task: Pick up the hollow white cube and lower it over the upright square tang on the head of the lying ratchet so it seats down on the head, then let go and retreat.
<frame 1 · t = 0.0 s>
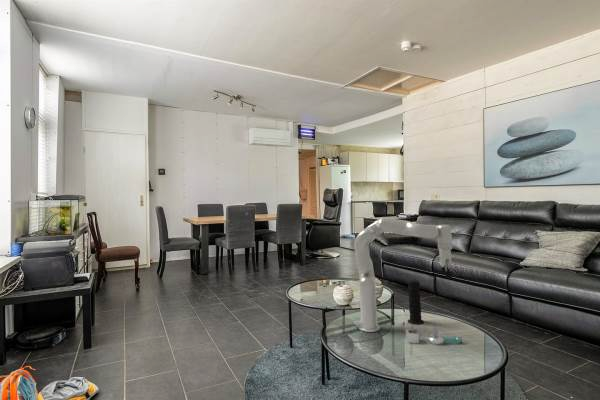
hand: (446, 276, 187), 31 cm above the table, fingers open, 9 cm apart
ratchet: (436, 341, 173), on the table
handle grip: (415, 322, 204), on the table
hollow white cube: (412, 340, 176), on the table
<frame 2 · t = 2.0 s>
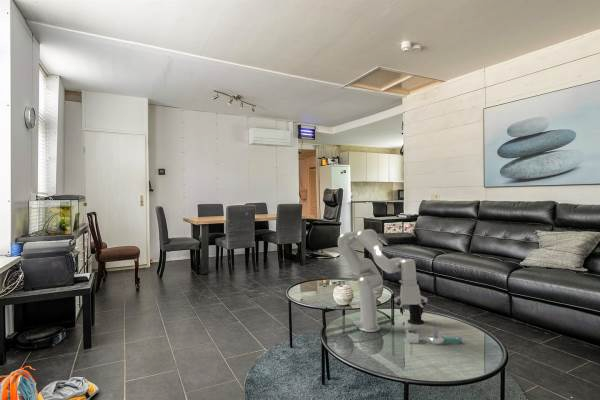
hand: (411, 314, 176), 14 cm above the table, fingers open, 9 cm apart
nothing on the table moved.
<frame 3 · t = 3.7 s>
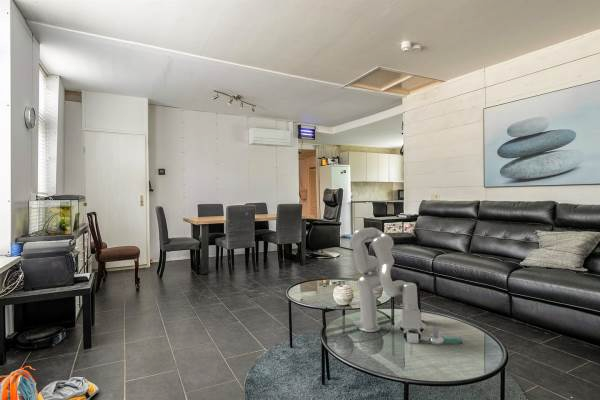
hand: (412, 339, 176), 1 cm above the table, fingers closed on hollow white cube, 5 cm apart
hollow white cube: (412, 340, 176), on the table, touching gripper
everything else where it was.
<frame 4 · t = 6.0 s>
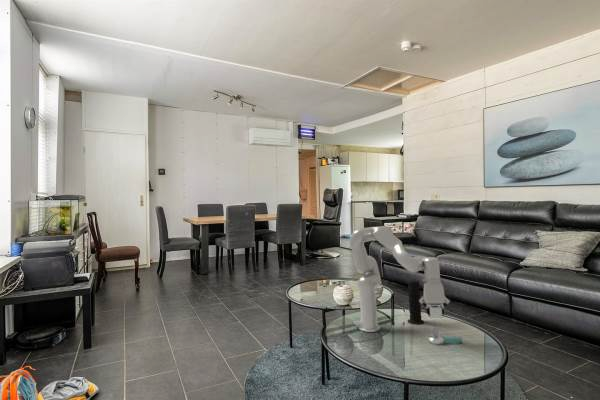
hand: (435, 315, 173), 14 cm above the table, fingers closed on hollow white cube, 5 cm apart
hollow white cube: (435, 316, 173), point 14 cm above the table, touching gripper
everything else where it was.
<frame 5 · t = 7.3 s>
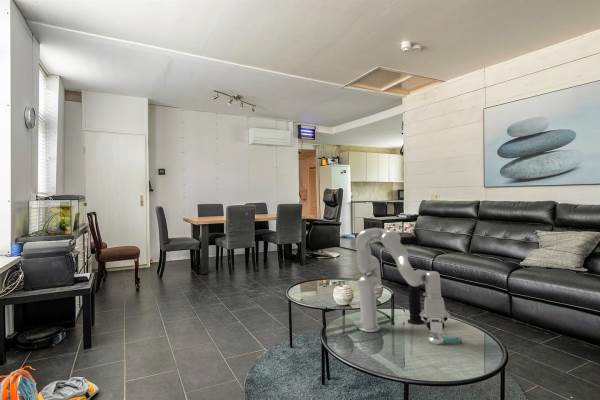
hand: (435, 329, 173), 7 cm above the table, fingers closed on hollow white cube, 5 cm apart
hollow white cube: (435, 330, 173), point 6 cm above the table, touching gripper
everything else where it was.
when the fingers open (4 cm above the table, at t = 8.2 s): hollow white cube stays where it is, resting on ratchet.
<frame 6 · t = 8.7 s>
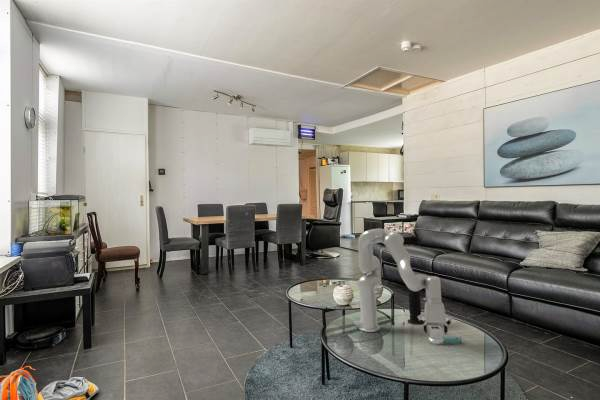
hand: (435, 332, 173), 5 cm above the table, fingers open, 9 cm apart
hollow white cube: (435, 337, 173), point 2 cm above the table, touching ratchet
everything else where it was.
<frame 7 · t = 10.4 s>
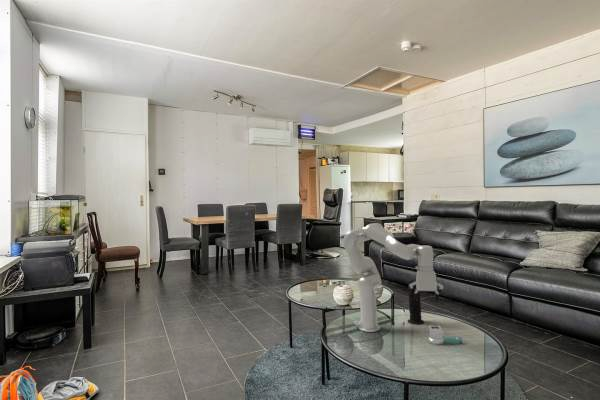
hand: (426, 300, 175), 21 cm above the table, fingers open, 9 cm apart
nothing on the table moved.
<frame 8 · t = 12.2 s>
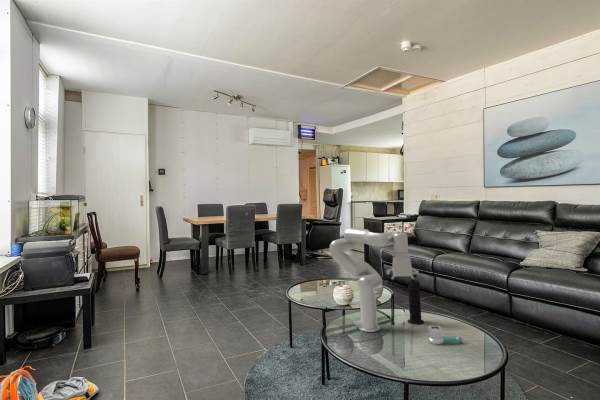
hand: (403, 286, 181), 28 cm above the table, fingers open, 9 cm apart
nothing on the table moved.
at the end: hollow white cube 0.1 cm off-centre on the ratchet, point 2.5 cm above the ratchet's base; the gripper is holding nothing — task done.
